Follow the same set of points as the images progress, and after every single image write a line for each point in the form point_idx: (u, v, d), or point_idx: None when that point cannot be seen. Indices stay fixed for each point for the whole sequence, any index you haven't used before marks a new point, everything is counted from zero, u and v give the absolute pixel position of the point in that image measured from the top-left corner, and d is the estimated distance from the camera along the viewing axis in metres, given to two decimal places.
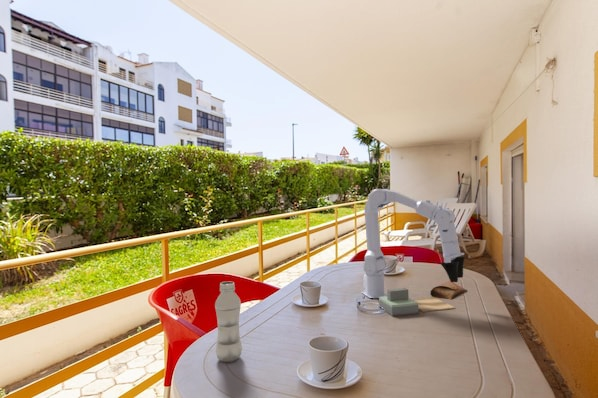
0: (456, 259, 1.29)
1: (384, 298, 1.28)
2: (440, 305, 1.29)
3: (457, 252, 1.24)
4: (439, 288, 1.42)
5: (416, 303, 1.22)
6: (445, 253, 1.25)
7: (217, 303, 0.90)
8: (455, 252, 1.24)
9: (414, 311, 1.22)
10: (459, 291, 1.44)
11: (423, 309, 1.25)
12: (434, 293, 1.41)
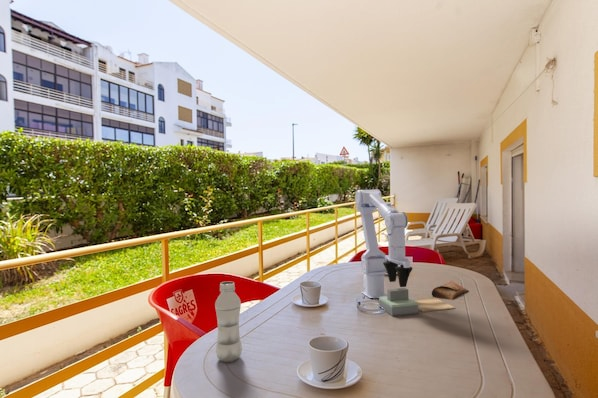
0: (392, 263, 1.30)
1: (384, 298, 1.28)
2: (440, 305, 1.29)
3: (405, 257, 1.25)
4: (440, 288, 1.42)
5: (416, 303, 1.22)
6: (396, 258, 1.24)
7: (217, 303, 0.90)
8: (404, 257, 1.24)
9: (414, 311, 1.22)
10: (460, 291, 1.44)
11: (423, 309, 1.25)
12: (435, 293, 1.41)
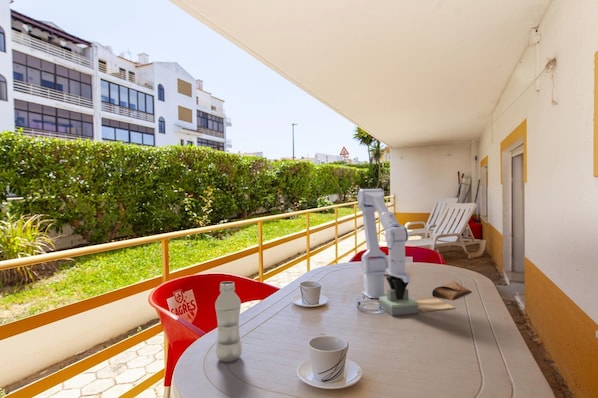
0: (396, 278, 1.28)
1: (384, 298, 1.28)
2: (440, 305, 1.29)
3: (405, 271, 1.25)
4: (441, 288, 1.42)
5: (416, 303, 1.22)
6: (396, 272, 1.24)
7: (217, 303, 0.90)
8: (404, 271, 1.25)
9: (414, 311, 1.22)
10: (462, 292, 1.43)
11: (423, 309, 1.25)
12: (436, 294, 1.40)
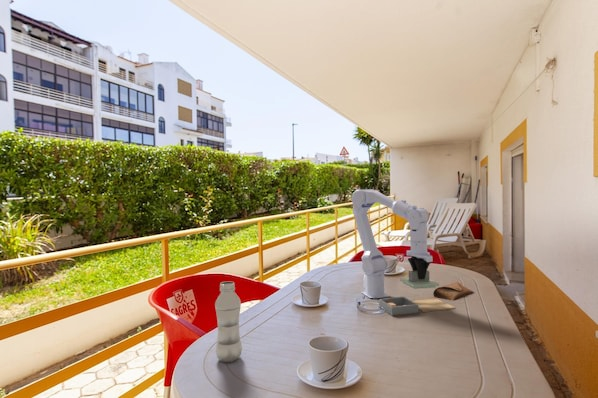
0: (417, 259, 1.31)
1: (405, 279, 1.31)
2: (440, 305, 1.29)
3: None
4: (442, 289, 1.41)
5: (437, 284, 1.26)
6: (418, 252, 1.27)
7: (217, 303, 0.90)
8: (426, 251, 1.28)
9: (414, 311, 1.22)
10: (464, 292, 1.42)
11: (423, 309, 1.25)
12: (437, 294, 1.40)
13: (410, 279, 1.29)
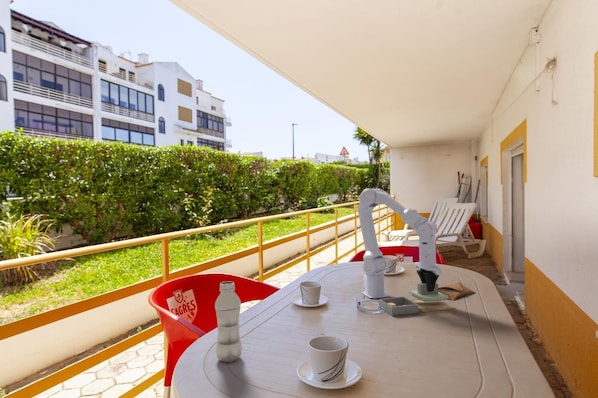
0: (426, 271, 1.33)
1: (414, 292, 1.33)
2: (440, 305, 1.29)
3: (435, 264, 1.30)
4: (443, 289, 1.41)
5: (446, 297, 1.27)
6: (427, 265, 1.28)
7: (217, 303, 0.90)
8: (435, 264, 1.29)
9: (414, 311, 1.22)
10: (465, 293, 1.41)
11: (423, 309, 1.25)
12: None
13: (419, 292, 1.30)
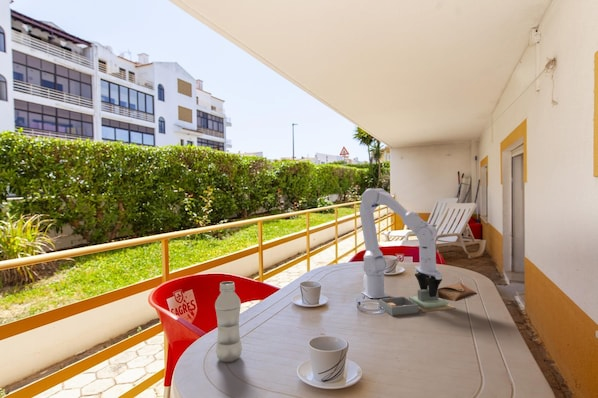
0: (424, 275, 1.34)
1: (414, 298, 1.33)
2: None
3: None
4: (444, 289, 1.40)
5: (446, 303, 1.27)
6: (427, 269, 1.28)
7: (217, 303, 0.90)
8: (435, 268, 1.29)
9: (414, 311, 1.22)
10: (466, 293, 1.41)
11: (423, 309, 1.25)
12: (439, 294, 1.39)
13: (419, 298, 1.30)
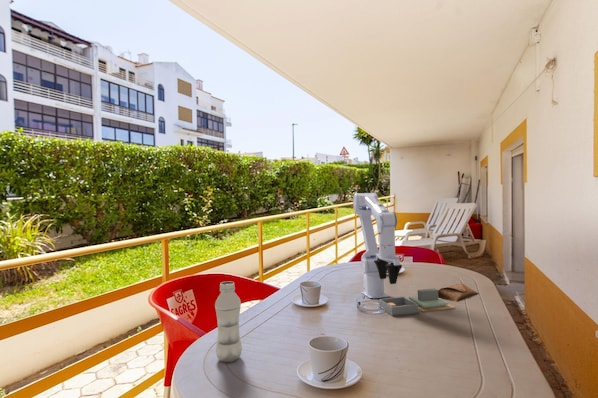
0: (383, 261, 1.34)
1: (414, 298, 1.33)
2: None
3: (395, 255, 1.30)
4: (446, 290, 1.40)
5: (446, 303, 1.27)
6: (386, 256, 1.28)
7: (217, 303, 0.90)
8: (394, 255, 1.29)
9: (414, 311, 1.22)
10: (468, 293, 1.40)
11: (423, 309, 1.25)
12: (440, 295, 1.39)
13: (419, 298, 1.30)
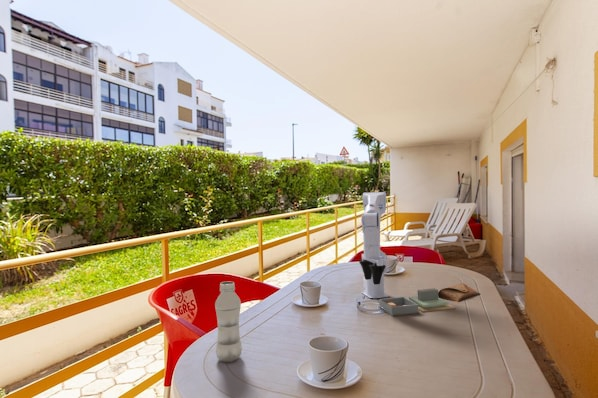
0: (368, 262, 1.34)
1: (414, 298, 1.33)
2: None
3: (379, 255, 1.30)
4: (447, 290, 1.39)
5: (446, 303, 1.27)
6: (370, 256, 1.28)
7: (217, 303, 0.90)
8: (378, 255, 1.29)
9: (414, 311, 1.22)
10: (470, 294, 1.40)
11: (423, 309, 1.25)
12: (441, 295, 1.38)
13: (419, 298, 1.30)
